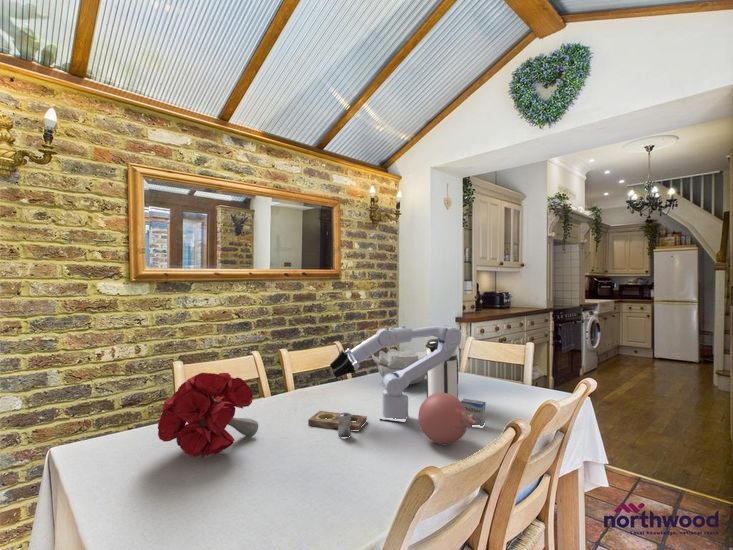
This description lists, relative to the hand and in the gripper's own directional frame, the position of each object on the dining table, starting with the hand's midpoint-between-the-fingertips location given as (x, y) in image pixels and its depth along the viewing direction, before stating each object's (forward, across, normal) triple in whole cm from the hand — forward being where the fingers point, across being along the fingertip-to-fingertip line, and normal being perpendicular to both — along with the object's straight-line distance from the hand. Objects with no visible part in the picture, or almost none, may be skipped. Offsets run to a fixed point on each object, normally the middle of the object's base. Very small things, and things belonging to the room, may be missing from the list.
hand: (332, 371), depth 141 cm
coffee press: (-29, -3, +41) cm, 51 cm away
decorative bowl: (-23, -40, +45) cm, 64 cm away
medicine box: (-32, +18, +39) cm, 54 cm away
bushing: (+7, +18, +13) cm, 24 cm away
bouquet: (+40, +20, -8) cm, 46 cm away
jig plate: (+8, +7, +15) cm, 18 cm away
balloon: (-19, +32, +28) cm, 47 cm away
